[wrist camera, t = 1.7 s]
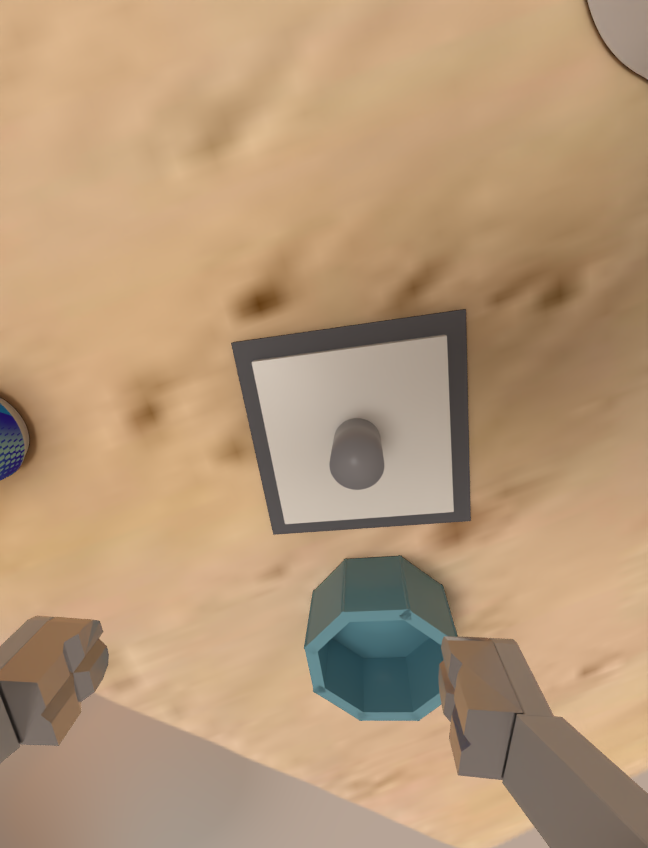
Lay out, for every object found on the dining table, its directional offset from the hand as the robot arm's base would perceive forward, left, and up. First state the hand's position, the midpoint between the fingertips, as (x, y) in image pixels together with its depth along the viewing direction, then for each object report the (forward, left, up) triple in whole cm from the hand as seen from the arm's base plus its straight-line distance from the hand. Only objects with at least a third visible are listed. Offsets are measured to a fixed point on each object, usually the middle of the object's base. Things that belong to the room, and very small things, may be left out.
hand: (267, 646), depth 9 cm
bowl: (-2, +21, -21) cm, 30 cm away
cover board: (-2, +3, -21) cm, 21 cm away
